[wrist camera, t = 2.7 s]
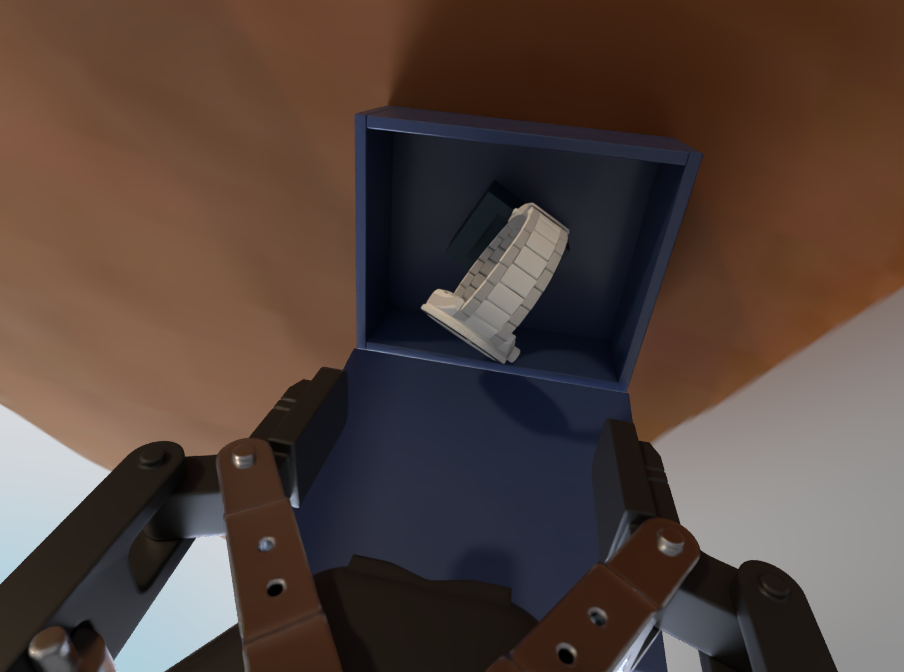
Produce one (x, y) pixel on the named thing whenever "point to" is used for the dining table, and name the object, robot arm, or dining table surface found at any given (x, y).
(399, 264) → the case
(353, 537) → the lid
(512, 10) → the dining table surface
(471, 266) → the watch
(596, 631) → the robot arm
